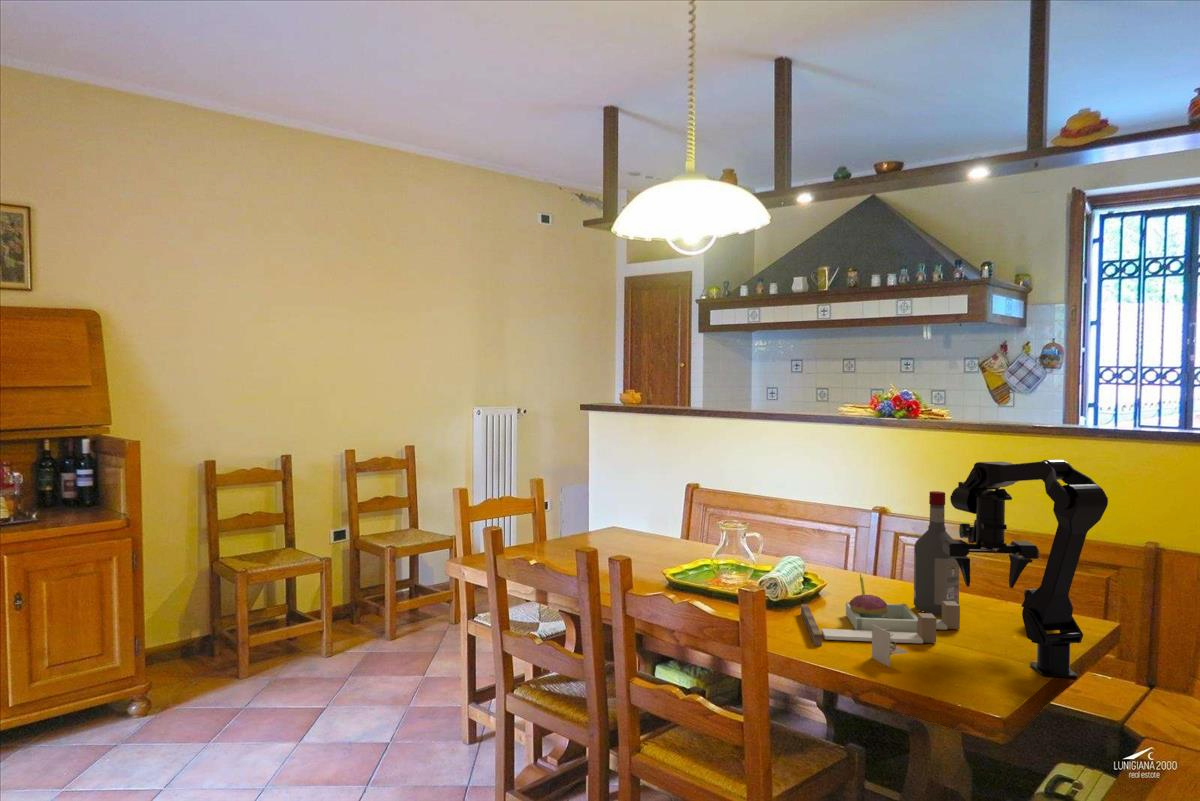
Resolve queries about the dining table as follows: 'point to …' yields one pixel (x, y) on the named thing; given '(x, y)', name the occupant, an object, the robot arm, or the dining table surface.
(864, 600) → the cupcake
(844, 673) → the dining table surface
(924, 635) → the cream lane
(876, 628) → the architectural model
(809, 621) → the walnut back rail
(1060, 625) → the robot arm
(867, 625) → the tray
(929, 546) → the liquor
